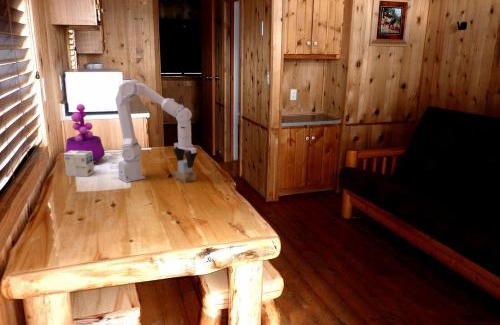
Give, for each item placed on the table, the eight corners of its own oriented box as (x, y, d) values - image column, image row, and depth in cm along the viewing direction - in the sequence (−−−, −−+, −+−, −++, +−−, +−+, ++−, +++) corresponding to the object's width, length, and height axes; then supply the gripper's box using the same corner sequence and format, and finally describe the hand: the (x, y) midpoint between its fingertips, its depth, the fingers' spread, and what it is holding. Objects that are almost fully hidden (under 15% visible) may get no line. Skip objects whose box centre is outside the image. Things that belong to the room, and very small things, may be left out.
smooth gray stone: (176, 177, 186) (176, 175, 186) (169, 174, 190) (169, 172, 190) (187, 175, 190) (187, 172, 190) (180, 172, 194) (180, 170, 194)
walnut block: (185, 183, 178) (184, 174, 177) (175, 180, 182) (175, 171, 181) (196, 180, 183) (195, 171, 182) (186, 177, 187) (186, 168, 186)
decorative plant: (91, 168, 197) (86, 107, 189) (58, 165, 200) (51, 105, 192) (112, 158, 215) (107, 102, 207) (80, 156, 218) (75, 101, 210)
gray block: (183, 173, 178) (183, 163, 177) (178, 171, 181) (177, 161, 180) (192, 172, 181) (191, 161, 180) (186, 169, 184) (186, 159, 183)
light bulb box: (94, 172, 190) (92, 150, 187) (87, 177, 184) (85, 154, 181) (73, 171, 191) (70, 149, 188) (65, 176, 185) (63, 153, 182)
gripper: (201, 137, 175) (202, 167, 178) (183, 132, 185) (183, 160, 188) (188, 139, 170) (188, 170, 174) (169, 134, 180) (170, 163, 184)
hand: (185, 165), depth 181 cm, fingers open, 7 cm apart
